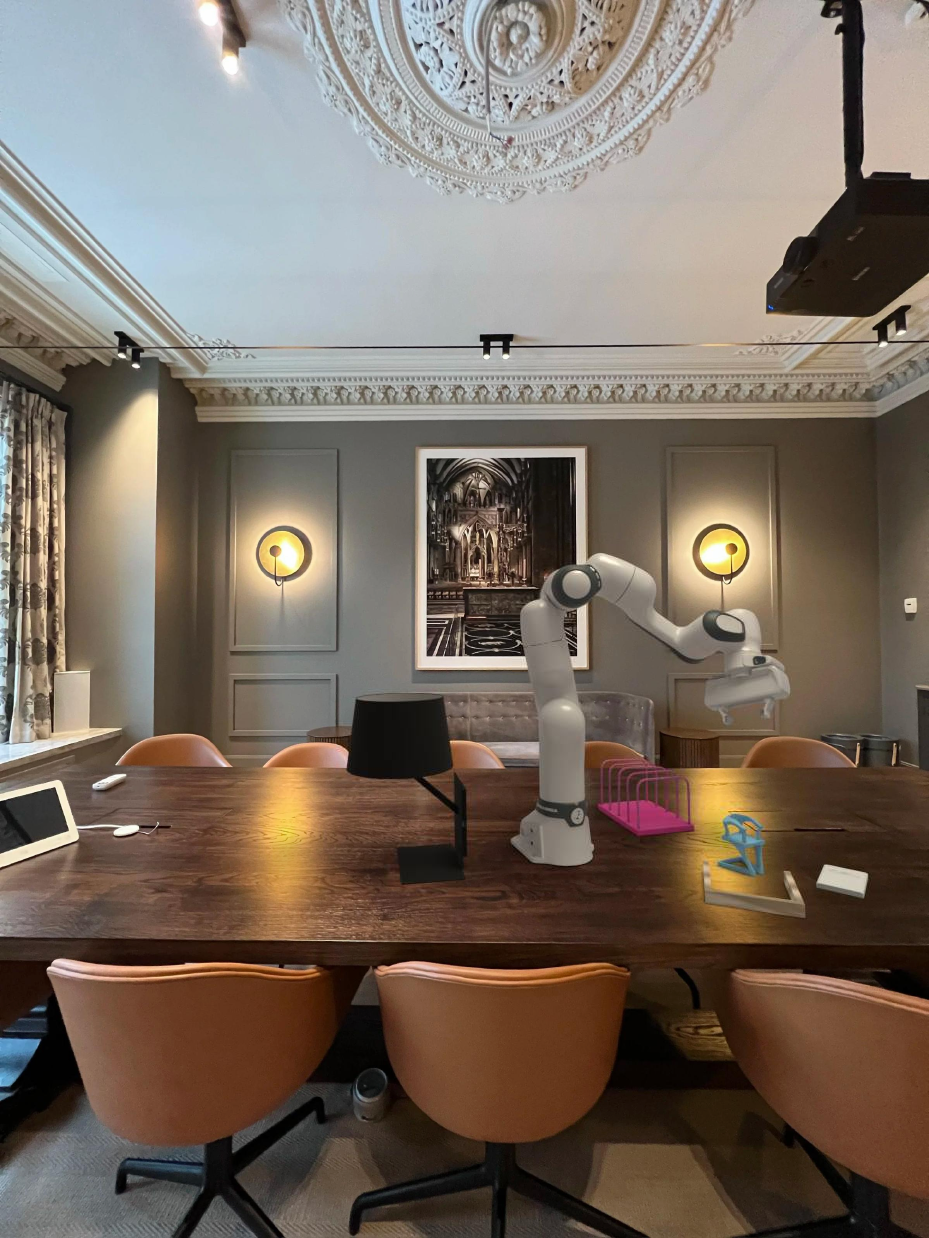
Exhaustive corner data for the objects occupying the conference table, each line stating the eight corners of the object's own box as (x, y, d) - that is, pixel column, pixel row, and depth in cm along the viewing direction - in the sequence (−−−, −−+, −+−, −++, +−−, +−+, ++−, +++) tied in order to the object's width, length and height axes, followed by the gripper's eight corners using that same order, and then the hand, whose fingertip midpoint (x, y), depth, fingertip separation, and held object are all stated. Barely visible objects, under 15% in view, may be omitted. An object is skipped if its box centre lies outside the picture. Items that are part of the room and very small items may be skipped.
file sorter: (648, 805, 178) (646, 756, 178) (694, 831, 153) (693, 774, 154) (597, 809, 174) (596, 759, 175) (637, 836, 150) (635, 778, 150)
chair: (747, 879, 122) (746, 824, 122) (716, 865, 130) (715, 813, 130) (771, 873, 125) (770, 819, 126) (740, 859, 133) (739, 809, 133)
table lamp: (473, 882, 122) (471, 700, 123) (343, 893, 117) (343, 704, 119) (456, 841, 147) (455, 690, 149) (348, 849, 142) (348, 693, 144)
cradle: (703, 871, 126) (702, 860, 126) (790, 883, 120) (790, 871, 120) (705, 902, 111) (705, 890, 111) (805, 918, 104) (804, 904, 105)
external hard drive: (816, 889, 118) (824, 870, 127) (863, 901, 112) (868, 879, 122) (816, 882, 118) (824, 863, 127) (863, 892, 112) (868, 872, 122)
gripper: (699, 673, 146) (699, 722, 139) (776, 654, 130) (781, 709, 124) (713, 682, 149) (714, 731, 142) (791, 664, 133) (796, 718, 126)
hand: (746, 720), depth 133 cm, fingers open, 8 cm apart
